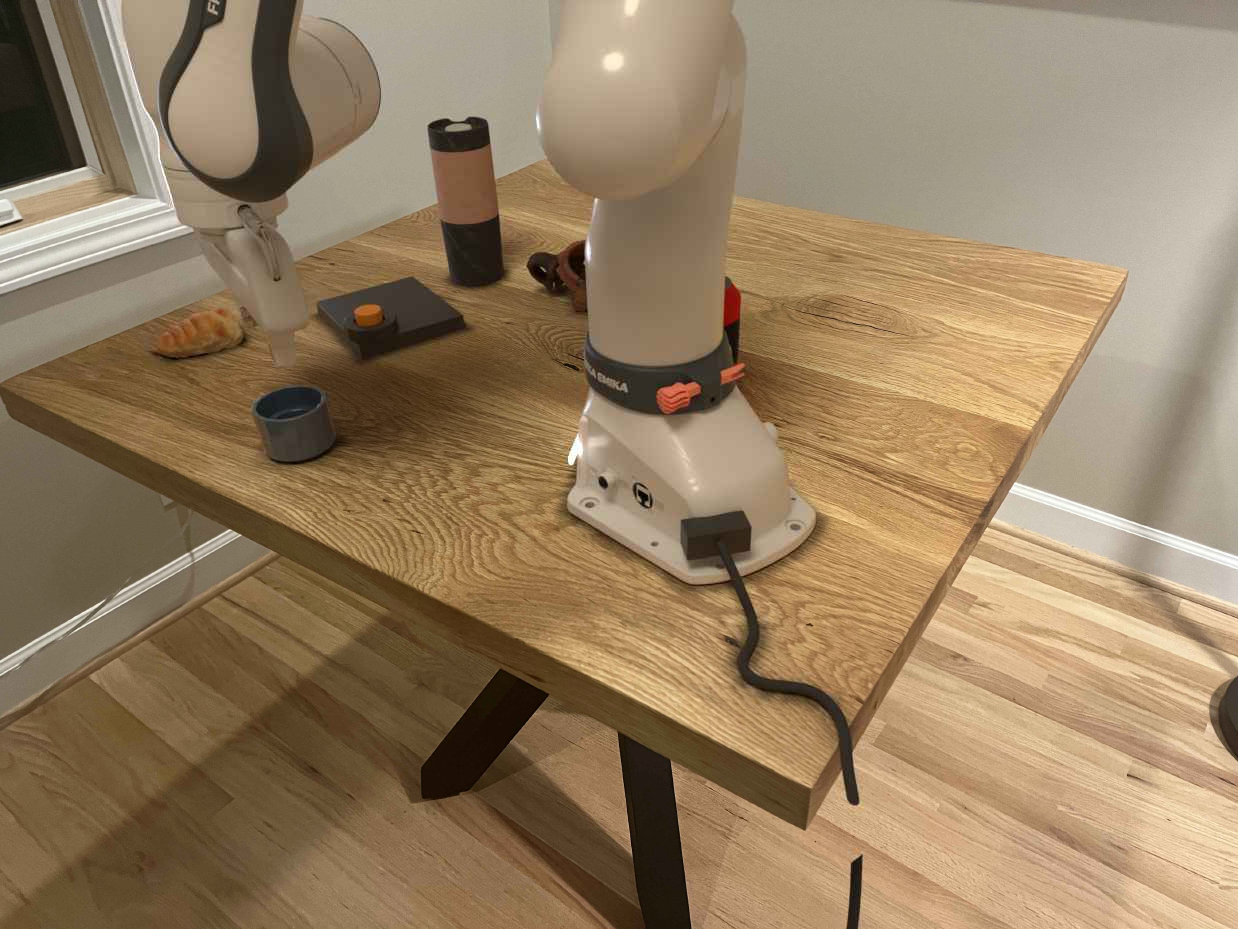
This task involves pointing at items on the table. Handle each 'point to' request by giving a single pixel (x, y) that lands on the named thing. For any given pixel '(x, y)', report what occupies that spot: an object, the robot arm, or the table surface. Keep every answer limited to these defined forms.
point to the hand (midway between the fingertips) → (269, 342)
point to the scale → (391, 317)
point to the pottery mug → (562, 271)
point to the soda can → (732, 317)
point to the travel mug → (467, 200)
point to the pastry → (200, 334)
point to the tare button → (368, 315)
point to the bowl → (294, 423)
